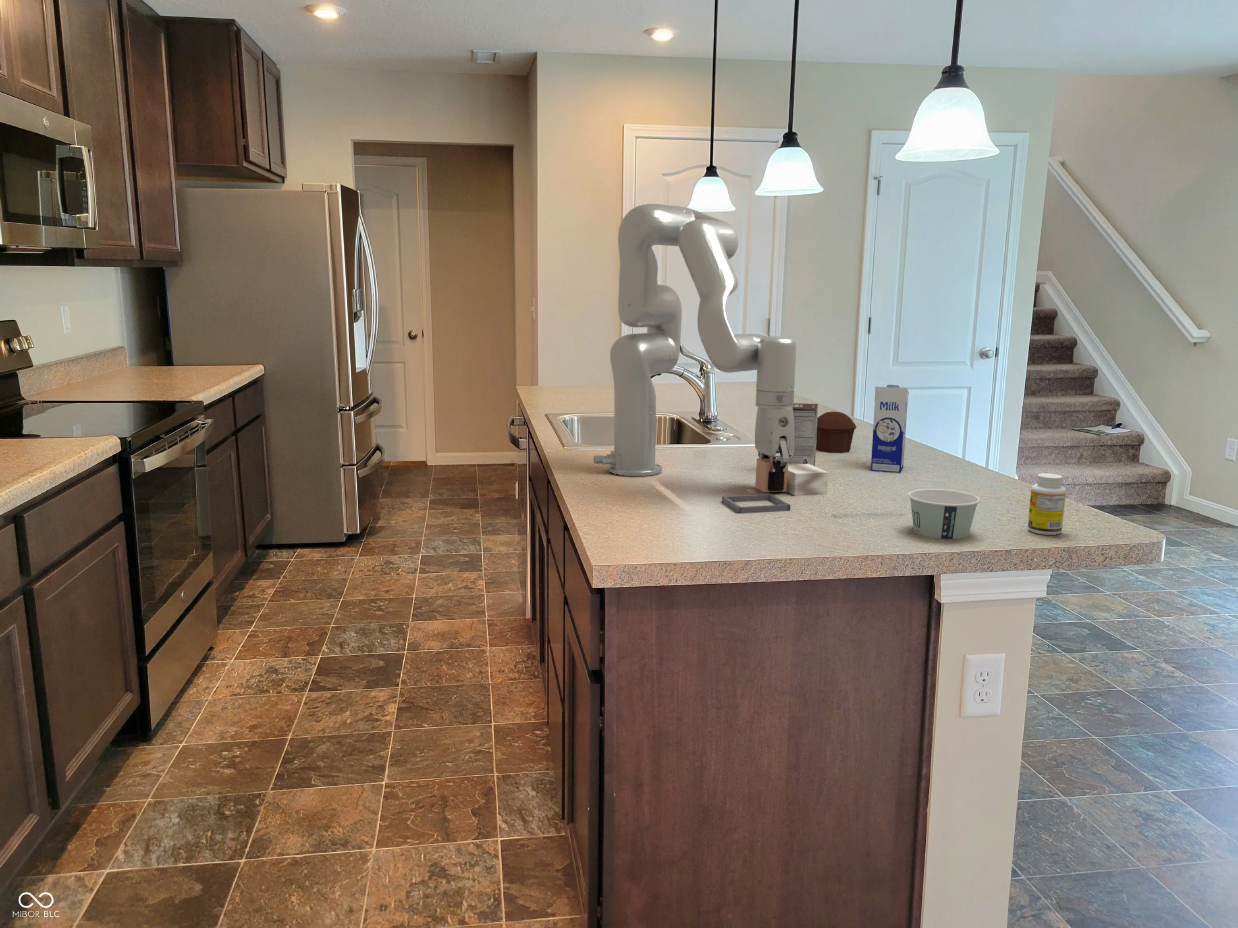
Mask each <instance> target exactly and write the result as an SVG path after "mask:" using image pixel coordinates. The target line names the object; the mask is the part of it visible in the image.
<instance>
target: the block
mask: <svg viewBox="0 0 1238 928" xmlns="http://www.w3.org/2000/svg"><path fill="white" fill-rule="evenodd" d="M777 460H779V459H775V463H776V462H777ZM785 469H786V470H785V472H784V490H783V491H769V490H768V475H769V471H771V469H770V459H759V458H756V467H755V482H754V483H755V484H754V489H755V488H756V489H759V490H761V491H762V492H770V493H779V492H780V493H781V492H783V493H784V492H785V493H787V491H786V490H787V475H788V463H787V464H786V466H785Z"/></svg>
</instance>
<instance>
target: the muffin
mask: <svg viewBox="0 0 1238 928" xmlns="http://www.w3.org/2000/svg"><path fill="white" fill-rule="evenodd" d="M856 429H857V425H856V424H855V422H854V420H853V419H852V418H851V417H850V416H849V415H847V414H846V413H844V412H842V411H841V412H840V411H827V412H824V413H822V414H821V415H819V416H818V417H817V439H816V452H820V453H827V454H844V453H845V454H846V453H850V451H851V448H852V447H851V446H852V443H853V437H854V434H855V430H856Z"/></svg>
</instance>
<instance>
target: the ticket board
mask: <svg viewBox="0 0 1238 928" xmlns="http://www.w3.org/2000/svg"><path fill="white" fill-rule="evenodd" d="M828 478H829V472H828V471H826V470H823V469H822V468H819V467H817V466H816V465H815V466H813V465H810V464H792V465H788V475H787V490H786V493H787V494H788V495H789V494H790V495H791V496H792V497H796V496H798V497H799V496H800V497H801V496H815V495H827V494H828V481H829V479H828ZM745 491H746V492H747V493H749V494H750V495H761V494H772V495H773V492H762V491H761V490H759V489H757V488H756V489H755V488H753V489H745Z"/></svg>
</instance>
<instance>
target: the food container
mask: <svg viewBox="0 0 1238 928" xmlns="http://www.w3.org/2000/svg"><path fill="white" fill-rule="evenodd" d="M907 497H908V498H909V500H910V507H911V509H910V510H911V515H912V516H911V517H912V526H913V528H912V529H913V531H914V533H916V534H918V535H921V536H923V537H924V536H925V537H928V538H934V539H942V540H958V539H965V538H967V537H968V536H969V535H970V531H971V528H972V523H973V520H974V518H975V517H974V516H975V512H976V511H977V510H976V508H977V506H978V504H979V503H980V502H981V498H980V497H979V496H977V495H975V494H973V493H969V492H967V491H966V492H965V491H960V490H954V489H945V488H944V489H943V488H921V489H914V490H911V491H909V492H908V493H907Z"/></svg>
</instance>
